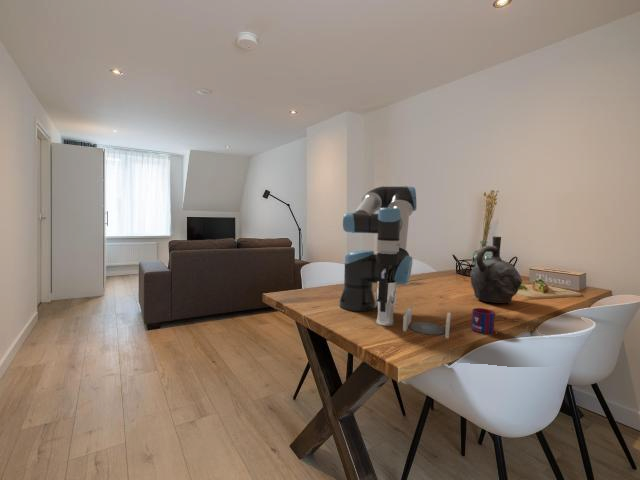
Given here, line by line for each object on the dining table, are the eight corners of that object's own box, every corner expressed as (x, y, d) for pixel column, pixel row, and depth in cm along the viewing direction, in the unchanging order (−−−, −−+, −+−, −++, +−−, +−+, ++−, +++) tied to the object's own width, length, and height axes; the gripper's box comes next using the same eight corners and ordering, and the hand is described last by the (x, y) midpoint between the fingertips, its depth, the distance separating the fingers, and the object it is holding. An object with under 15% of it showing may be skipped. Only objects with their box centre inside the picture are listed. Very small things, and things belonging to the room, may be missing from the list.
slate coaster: (407, 331, 105) (407, 329, 105) (412, 321, 115) (412, 320, 115) (443, 337, 100) (443, 335, 100) (445, 326, 110) (445, 325, 110)
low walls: (402, 331, 105) (403, 316, 105) (408, 320, 116) (408, 307, 116) (448, 338, 99) (449, 322, 99) (449, 326, 110) (450, 312, 110)
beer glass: (391, 327, 108) (392, 283, 107) (371, 323, 111) (373, 281, 110) (397, 322, 114) (399, 280, 112) (379, 318, 117) (380, 278, 116)
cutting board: (531, 300, 154) (532, 285, 153) (492, 289, 176) (493, 276, 176) (583, 297, 164) (585, 282, 163) (540, 287, 186) (541, 274, 186)
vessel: (512, 312, 130) (518, 239, 128) (458, 301, 145) (461, 235, 143) (526, 302, 148) (530, 237, 146) (475, 293, 163) (479, 234, 161)
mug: (466, 328, 109) (468, 309, 108) (485, 325, 113) (487, 306, 113) (484, 335, 103) (486, 314, 102) (504, 331, 108) (505, 311, 107)
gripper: (393, 256, 100) (390, 327, 102) (403, 250, 118) (400, 311, 120) (369, 254, 103) (367, 324, 105) (383, 249, 121) (380, 309, 123)
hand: (385, 317), depth 112 cm, fingers closed on beer glass, 6 cm apart
